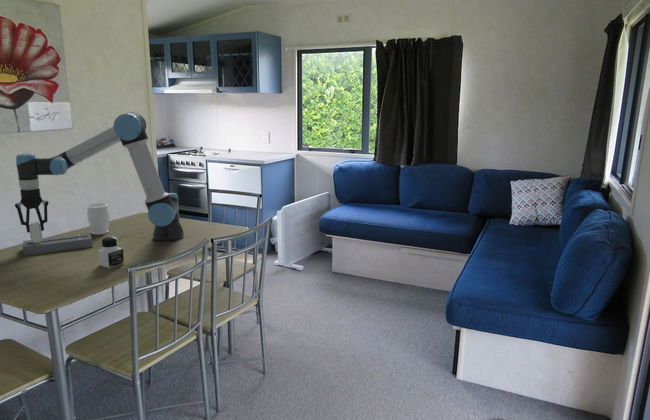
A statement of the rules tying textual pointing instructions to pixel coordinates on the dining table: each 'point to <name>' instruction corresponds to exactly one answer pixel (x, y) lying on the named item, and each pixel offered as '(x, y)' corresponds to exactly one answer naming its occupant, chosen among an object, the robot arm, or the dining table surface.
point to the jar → (98, 218)
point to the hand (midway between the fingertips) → (36, 238)
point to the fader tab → (35, 231)
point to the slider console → (57, 244)
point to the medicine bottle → (110, 253)
